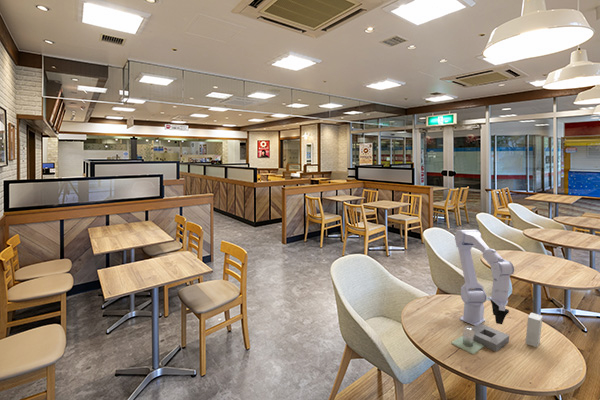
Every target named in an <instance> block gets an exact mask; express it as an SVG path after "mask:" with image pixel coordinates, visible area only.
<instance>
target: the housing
mask: <svg viewBox="0 0 600 400" xmlns="http://www.w3.org/2000/svg"><path fill="white" fill-rule="evenodd" d="M472 327H473V328H474V329H475V334H474V341H476V342H478V343H480V344H482V345H484V348H487V349H489V350H492V351H493V352H498V351H499V350H500V349H501V348H504V346H506V345H507V344H508V343H509V342H510V335H509V334H508V333H505V332H503V331H501V330H498V329H496V328H493V327H490V326H488V325H485V324H483V323H480V324H478V325H476V326H472Z"/></svg>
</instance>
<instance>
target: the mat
mask: <svg viewBox="0 0 600 400" xmlns="http://www.w3.org/2000/svg"><path fill="white" fill-rule="evenodd" d="M451 344H452V345H453V346H455V347H458V348H459V349H462V350H463V351H466V352H467V353H469V354H472V355H474V354H476V353H478V352H479V351H480V350H481V349H483V348H485V346H484V345H482V344H480V343H478V342H476V341H474V345H473V347H468V346H465V345H464V344H463V334H462V335H461V336H459V337H458V338H456V339H455V340H453V341H452V342H451Z"/></svg>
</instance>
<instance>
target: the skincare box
mask: <svg viewBox="0 0 600 400" xmlns="http://www.w3.org/2000/svg"><path fill="white" fill-rule="evenodd" d="M542 324H543V315H541V314H538V313H535V312H530V313H529V315H528V317H527V325H526V335H525V344H526V345H529V346H531V347H534V348H538V347H539V345H540V342H541V335H542V333H541V332H542Z"/></svg>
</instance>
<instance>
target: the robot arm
mask: <svg viewBox="0 0 600 400" xmlns="http://www.w3.org/2000/svg"><path fill="white" fill-rule="evenodd" d="M454 239H455V245H456V248H458V254H459V260H460V264H461V268H462V274H463V278H464V283H463V285H461V287H460V299H461V300H462V302H463V303H464V304H463V315H462V316H460V317H459V318H458V319H459V320H460V321H462V322H465V323H467V324H469V325H472V326H473V327H475V326H476V325H478V324H480V323H481V324H483V323H484V322H485V321H486V319H485V318H484V316H485V315H484V314H485V306H484V303H485V302H486V301H487V299H488V300H489V301H490V303H491V309H492V315H493V316H494V320H495V323H496V324H497V325H503V323H504V320H505V319H506V316H507V315H508V314H509V313H510V309H507V308H506V306H507V305H508V303H509V300H508V299H509V290H510V288H509V287H510V279H511V276H512V275H513V274H514V272H515V266H514V265H513V263H512V261H510V260H506V259H504V258H503V257H502V256H501V255H500V254H499V252H497V250H496V249H494V248H490V247H489V246H488V245H487V244H486V242H485V241H484V239H483V238H482V233H481V232H480V231H479V230H478V229H476V228H475V229H456V232H455V234H454ZM474 247H476V248H477V250H478V251H479V252H481V253H482V258H483V259H484V260H485V261H486V262H487V264H488V265H489V266H490V270H491V277H492V289H491V296H487V293H486V291H485V289H484V285H482V284H481V283H479V282H478V280H477V279H478V277H477V274H476V270H475V269H476V268H475V265H474V260H473V256H472V252H471V251H472V248H474Z"/></svg>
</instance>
